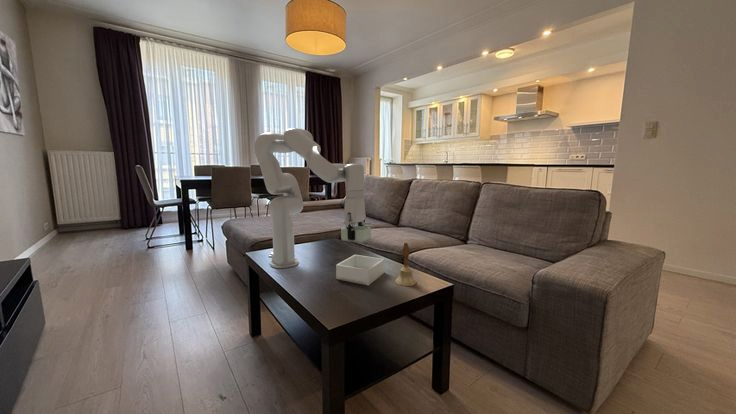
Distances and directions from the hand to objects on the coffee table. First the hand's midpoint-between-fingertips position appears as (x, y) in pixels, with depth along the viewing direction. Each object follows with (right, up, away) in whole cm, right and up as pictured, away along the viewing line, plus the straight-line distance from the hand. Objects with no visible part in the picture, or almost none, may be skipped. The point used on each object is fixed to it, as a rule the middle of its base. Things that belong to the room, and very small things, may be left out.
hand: (356, 237), depth 124 cm
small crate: (0, -1, 0) cm, 1 cm away
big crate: (+2, -16, +2) cm, 17 cm away
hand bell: (+20, -17, -4) cm, 27 cm away
